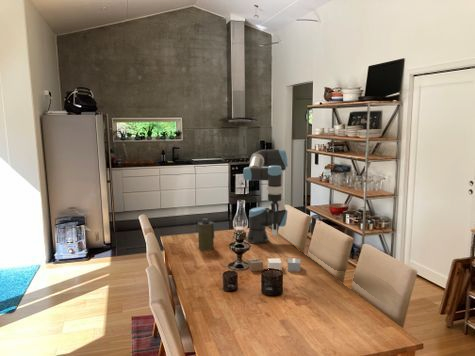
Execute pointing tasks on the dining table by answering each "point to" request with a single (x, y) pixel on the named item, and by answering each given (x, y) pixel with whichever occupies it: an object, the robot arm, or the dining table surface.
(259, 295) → the dining table surface
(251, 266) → the walnut block
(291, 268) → the grey block
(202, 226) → the canister
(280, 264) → the plain block
